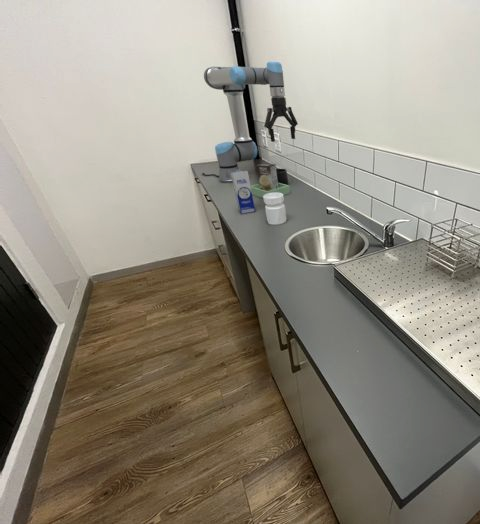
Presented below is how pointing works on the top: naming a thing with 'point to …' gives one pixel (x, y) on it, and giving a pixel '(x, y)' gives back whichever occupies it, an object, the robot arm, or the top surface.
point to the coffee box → (267, 176)
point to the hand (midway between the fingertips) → (283, 140)
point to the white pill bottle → (275, 208)
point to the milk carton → (243, 191)
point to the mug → (282, 176)
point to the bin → (260, 193)
